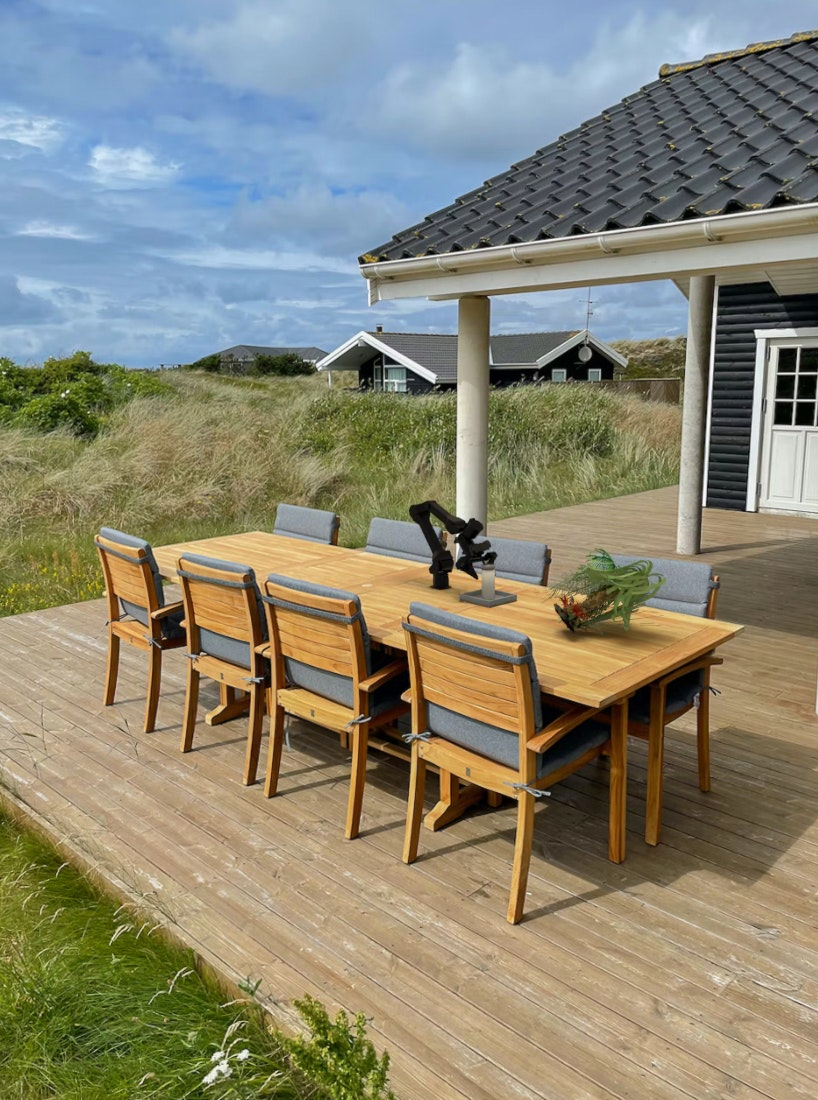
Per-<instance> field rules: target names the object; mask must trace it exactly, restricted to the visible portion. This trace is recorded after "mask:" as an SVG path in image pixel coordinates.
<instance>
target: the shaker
mask: <svg viewBox="0 0 818 1100" xmlns="http://www.w3.org/2000/svg"><path fill="white" fill-rule="evenodd" d="M480 567H481V589H482V599H484V600H493V599H495V590H496V576H495V573H496V564H495V563H494V564H483V563H482V564H481V566H480Z"/></svg>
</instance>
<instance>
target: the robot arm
mask: <svg viewBox="0 0 818 1100" xmlns="http://www.w3.org/2000/svg"><path fill="white" fill-rule="evenodd" d="M408 514H409V516H410V518H411V520H412V521H413V522H414V523H416V524H417V525H418V526H419V527H420V531H421V532H422V534H423V536H424V538H425V540H426V543H427V545H428V547H429V549H430V551H431V553H432V554H431V555H432V557H431V563H432V564H431V565H430V567H429V568H428V571H429V572H428V573H429V574H430V575H432V585H430V586H429V587H430V588H433V589H437V590H444V589H445V590H446V589H449V588H452V586H451V585H450V577H449V574H450V573H452V572H453V569H454V566H455V568H456V570H457V571H460V572H463V573H465V574H467V575H468V576H470V577H471V578H473V579H474V580H476V581H478V580H479V579H480V577H479V575H478V573H477V572H476V570H475V567H474V563H482V564H495V561H496V560H497V558H498V557H499V555H498V553H497V552H496V551H489V550H490V549H491V548H492V543H491V542H490V540H484V541H482V542H479V543H478V542H475V541H474V540H475V539H476V538H477V537H478V536H480V534H481V533H482V531H483V530H484V525H483V523H482V522H481V521H479V520H477V519H476V518H475V517H471V518H469V520H468V522H466V520H464V519H463V518H461V517H459V516H455V515H452V514H451V513H450V512H449V511H447V510H446V509H445V508H444V507H442V506H441V505H440V504H439V503H438V502H437V500H434V499H433V500H432V499H430V500H425V501H423V502H421V503H417V504H414V503H413V504H411V505H410V506H409V508H408ZM431 514H432V515H433V516H434V517H435V518H436V519H437V520H439V521H440V522H441V523H443V525H444V528H445V530H446V531H447V532H448V533H449V534H450V535H451V536H452V535H457V536H455V537H454V540H453V544H458V546H459V547H460V549H461V550H462V552H461V555H462V556H460V557H459V558H458V559H457V561H456V562H455V560H454V556H453V555H452V553H451V552H452V551H451V550H450V549H449V550H448V549H447V550H446V549H444V548H443V546H442V545H443V544H442V543H441V541H440V538H439V537H438V534H437V532H436V531H435V528H434V526H433V525H432V521H431ZM486 551H487V552H486ZM485 552H486V553H485ZM482 555H483V556H482ZM496 575H497V573H496V572H495V577H496Z"/></svg>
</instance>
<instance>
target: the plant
mask: <svg viewBox="0 0 818 1100" xmlns="http://www.w3.org/2000/svg"><path fill="white" fill-rule="evenodd" d="M595 552H597V553H595ZM589 553H590V554H587V555H585V556H584V558H588V557H589V558H590V559H588V560H587V559H586V560H585V562H584V563H587V565H584V563H582V564H580V563H579V564H578V566H577V567H576V569H577V570H579V571H575V573H574V572H573V571H572V570H571V569H569V571H570V573H571V574H569V575H568V573H564V572H561V578H562V580H560V582H559V583H557V582H556V581H554V584H555V585H552V586H550V588H548V589H547V586H545V587H544V594H545V593H546V594H547V595H546V597H547V596H548V598H547V599H545V600H544V601H542V602H541V603H542V604H543V603H545V602H546V601H548V600H550V599H552V598H553V597H554V596H555V597H554V598H553V599H556V598H558V600H557V601H558V602H562V604H561V605H559V604H558V603H557V602H556V603H553V607H554V612H555V613H556V614H557V615H558V616H559V617H558V619H561V620H560V621H559V622H558V624H560V623H563V625H565V626H566V629H568V630H569V632H571V633H572V634H573V635H575V634H576V630H580V631H582V633H584V632H588V629H590V630H594V631H595V632H596V634H597V635H598V634H599V633H600V635H602V636H605V635H604V632H602V630H601V628H602V627H603V628H605V627H606V628H607V627H611V628H613V627H617V626H619V628H620V629H622V626H623V628H624V629H623V630H624V631H626V632H628V631H630V624H631V623H630V622H631V621H633V620H635V618H631V616H632V615H636V614H637V615H638V614H640V613H643V612H644V613H645V612H646V610H644V611H640V608H643V607H645V606H647V604H646V601H648V600H650V599H652V598H653V597H654V596H655V595H656V594H657V593H658V591H659V590H660V588H661V587H662V586H663V585H664V584H665V583H667V578H666V577H665V576H664V575H663V574H661V573H658V572H655V573H651V571H652V569H653V564H654V563H653V562H652V561H651V560H649V559H646V560H645V559H640V560H639V559H638V560H635V561H636V562H635V561H634V562H632V563H631V564H627V565H625V566H622V567H621V566H620V565H617V566H616V564H618V563H621V562H620V561H619V562H616V563H615V561H614V560H613V558H612V556H611V555H610V553H608V552H607V551H606V550H604V549H603V548H594V549H593V552H592V551H590V552H589ZM598 553H600V554H601V555H602V556H601V555H600V554H598ZM627 562H631V560H629V561H628V560H627V561H626V563H627ZM641 563H646V564H647V566H646V565H644V564H641ZM600 567H601V568H600ZM640 567H641V568H642V569H641V568H640ZM636 568H637V569H636ZM563 575H566V576H565V577H564V576H563ZM655 576H657V578H658V582H657V583H654V582H653V581H652V580H651V579H649V577H655ZM563 577H564V578H563ZM662 577H663V578H662ZM574 583H575V584H574ZM566 584H567V585H566ZM579 584H580V586H579ZM578 586H579V587H578ZM536 591H537V592H538V590H537V589H535V591H534V593H536V596H537V597H538V596H539V597H541V596H540V595H538V594H537V592H536ZM560 591H561V593H560ZM651 591H652V592H651ZM575 592H576V593H575ZM650 592H651V593H650ZM548 593H549V594H548ZM559 593H560V594H559ZM578 594H579V595H581V596H585V595H586V597H584V598H583V600H580V601H579V600H575V596H577V595H578ZM544 597H545V596H544ZM561 606H563V607H561ZM638 611H640V612H638ZM660 616H664V614H661V615H659V617H660ZM655 617H657V615H654V616H652V618H655ZM647 618H650V616H646V617H644V619H647ZM617 619H620V620H617ZM621 619H622V620H621ZM640 619H642V617H639V618H636V620H640ZM617 622H618V623H619V624H618V623H617ZM621 622H623V623H621ZM611 623H617V624H616V625H606V624H611ZM645 624H647V625H651V624H654V622H646V623H641V625H645ZM660 626H661V624H660V625H652V627H660Z"/></svg>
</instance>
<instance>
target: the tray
mask: <svg viewBox="0 0 818 1100" xmlns="http://www.w3.org/2000/svg"><path fill="white" fill-rule="evenodd" d="M460 600H461V601H460ZM459 601H460V602H464V601H465V603H468V602H469V604H473V605H476V604H477V605H476V606H479V607H480V606H481V607H484V608H488V609H490V608H493V607H498V606H501V605H505V604H510V603H513V602H517V601H518V594H517V593H512V592H507V591H503V590H498V589H495V599H493V600H484V599H482V588H481V589H476V590H472V591H466V592H464V593H460V594H459Z"/></svg>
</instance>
